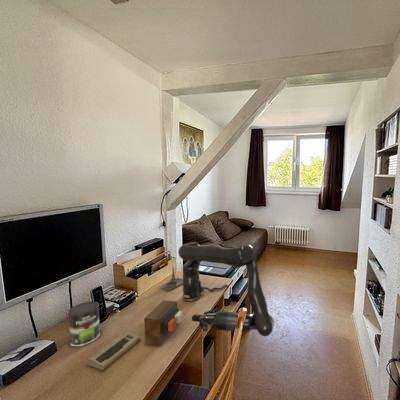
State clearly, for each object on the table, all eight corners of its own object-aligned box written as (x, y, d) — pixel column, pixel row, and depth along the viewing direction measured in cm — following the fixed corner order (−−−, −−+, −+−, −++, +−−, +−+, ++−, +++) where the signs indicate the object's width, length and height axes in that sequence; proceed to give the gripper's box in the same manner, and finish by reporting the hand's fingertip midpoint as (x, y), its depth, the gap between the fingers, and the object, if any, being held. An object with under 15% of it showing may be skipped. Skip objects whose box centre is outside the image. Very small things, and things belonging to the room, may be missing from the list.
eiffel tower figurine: (169, 291, 138) (169, 271, 136) (158, 287, 142) (158, 267, 141) (187, 281, 151) (187, 262, 150) (177, 278, 155) (177, 260, 154)
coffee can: (102, 337, 97) (101, 307, 96) (71, 350, 90) (69, 318, 88) (97, 326, 104) (96, 298, 103) (68, 338, 97) (66, 307, 95)
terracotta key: (167, 331, 94) (167, 323, 94) (172, 325, 98) (172, 318, 98) (172, 331, 94) (172, 323, 94) (176, 326, 98) (176, 318, 97)
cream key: (174, 323, 100) (174, 315, 99) (178, 318, 103) (178, 311, 103) (178, 323, 100) (178, 316, 99) (182, 318, 103) (182, 311, 103)
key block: (145, 344, 94) (144, 318, 92) (164, 323, 107) (163, 300, 106) (164, 346, 92) (163, 320, 91) (181, 325, 106) (180, 301, 105)
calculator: (108, 293, 127) (124, 297, 121) (108, 300, 128) (125, 305, 122) (86, 302, 118) (103, 308, 111) (87, 310, 118) (103, 316, 112)
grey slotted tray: (103, 371, 80) (103, 363, 80) (87, 365, 83) (87, 357, 82) (139, 341, 95) (139, 334, 95) (125, 337, 98) (125, 330, 97)
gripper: (233, 304, 105) (198, 301, 107) (224, 322, 92) (185, 318, 94) (233, 319, 105) (198, 316, 107) (224, 339, 92) (185, 335, 94)
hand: (192, 317), depth 100 cm, fingers closed
